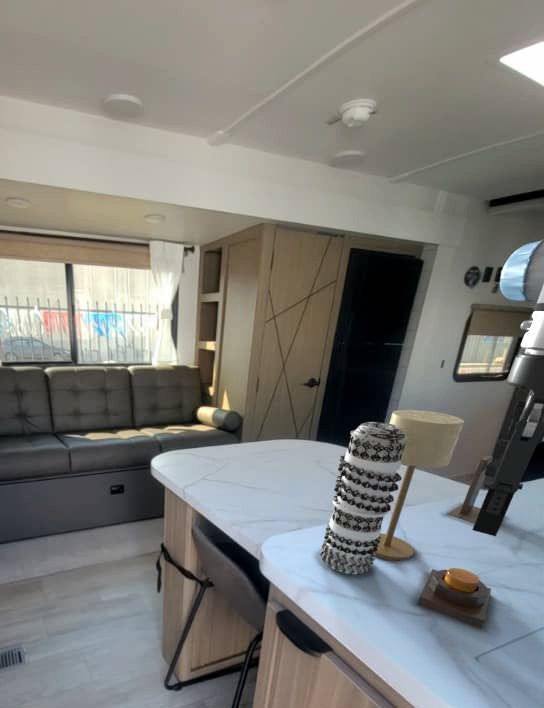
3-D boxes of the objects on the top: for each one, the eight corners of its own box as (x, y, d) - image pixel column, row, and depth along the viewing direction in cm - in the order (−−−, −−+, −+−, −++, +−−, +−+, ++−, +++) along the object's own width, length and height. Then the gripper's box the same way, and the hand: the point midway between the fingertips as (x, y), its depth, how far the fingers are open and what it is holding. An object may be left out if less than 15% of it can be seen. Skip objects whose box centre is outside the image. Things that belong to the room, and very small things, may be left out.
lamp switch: (499, 445, 91) (501, 436, 90) (532, 452, 87) (535, 442, 86) (474, 472, 87) (476, 463, 86) (507, 481, 83) (510, 471, 81)
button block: (428, 579, 68) (435, 559, 67) (486, 600, 64) (495, 579, 62) (415, 607, 62) (423, 586, 60) (478, 633, 57) (489, 610, 55)
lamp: (407, 543, 80) (451, 412, 68) (421, 570, 71) (474, 426, 60) (352, 534, 82) (387, 407, 71) (359, 560, 73) (399, 420, 62)
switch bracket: (462, 507, 96) (484, 451, 90) (502, 520, 90) (529, 461, 84) (445, 518, 90) (467, 459, 84) (487, 532, 84) (514, 470, 78)
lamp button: (446, 574, 64) (449, 564, 63) (476, 584, 61) (481, 574, 61) (441, 585, 61) (445, 575, 60) (473, 596, 59) (478, 586, 58)
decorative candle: (307, 552, 75) (336, 418, 64) (355, 551, 76) (391, 418, 65) (330, 581, 67) (368, 433, 56) (383, 580, 68) (430, 433, 57)
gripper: (520, 348, 54) (459, 509, 64) (515, 354, 45) (445, 539, 55) (598, 352, 49) (520, 523, 60) (610, 359, 40) (515, 559, 51)
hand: (484, 531), depth 57 cm, fingers closed
